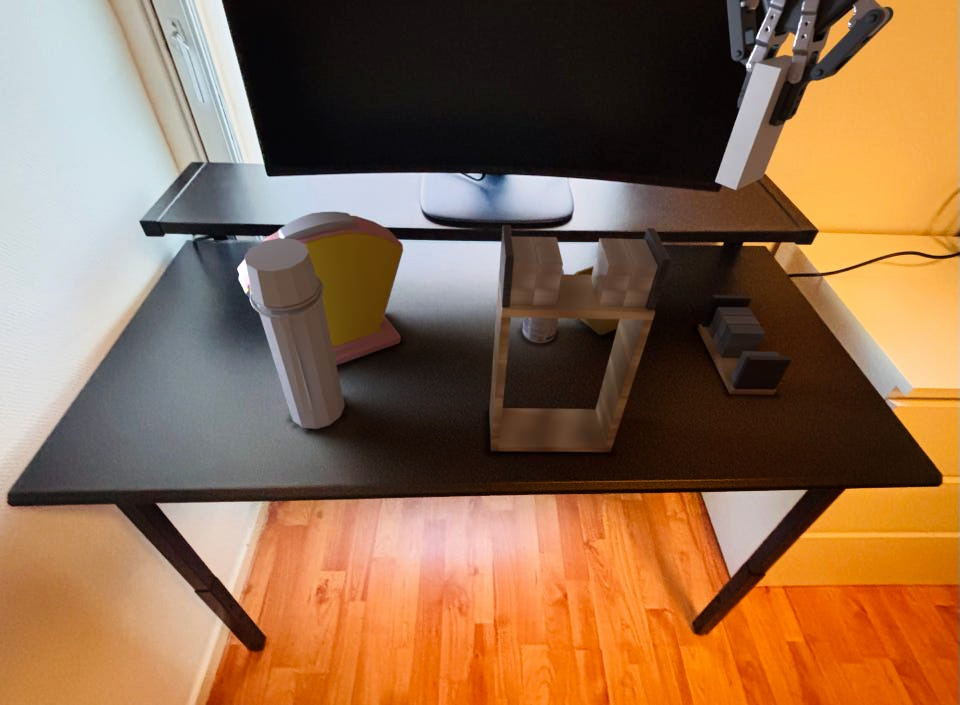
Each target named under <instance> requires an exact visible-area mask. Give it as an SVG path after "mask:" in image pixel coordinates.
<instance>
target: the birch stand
mask: <svg viewBox="0 0 960 705" xmlns="http://www.w3.org/2000/svg"><path fill="white" fill-rule="evenodd" d="M495 310H496V312H495V325H494V340H493V353H492V354H493V355H492V356H493V357H492V370H491V385H490V399H489V436H490V437H489V438H490V439H489V440H490V452H549V453H550V452H551V453H553V452H556V453H559V452H560V453H561V452H562V453H563V452H564V453H565V452H566V453H567V452H568V453H569V452H570V453H611V452H612V448H613V445H614V443H615V439H616V436H617V433H618V430H619V427H620V423H621V420H622V418H623V415H624V411H625V408H626V405H627V402H628V398H629V395H630V393H631V389H632V387H633V383H634V381H635V380H634V379H635V377H636V374H637V370H638V367H639V364H640V361H641V359H642V356H643V353H644V349H645V346H646V342H647V339H648V336H649V334H650V331H651V327H652V324H653V320H654V319H653V320H634V319H620V320H619V324H618V328H617V329H616V332H615V336H614V340H613V343H612V347H611V351H610V354H609V358H608V362H607V365H606V369H605V373H604V377H603V380H602V384H601V388H600V392H599V396H598V399H597V403H596V405H595V406H596V407H595V408H530V407H529V408H527V407H526V408H524V407H523V408H522V407H521V408H519V407H517V408H515V407H513V408H512V407H511V408H510V407H504V398H505V387H506V377H507V376H506V375H507V367H508V366H507V364H508V352H509V342H510V332H511V321H512V317H501V308H500V294H499V280H498V281H497V296H496V309H495Z"/></svg>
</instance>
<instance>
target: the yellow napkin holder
mask: <svg viewBox="0 0 960 705" xmlns="http://www.w3.org/2000/svg"><path fill="white" fill-rule="evenodd" d="M278 238H284V239H295V240H297V241H299V242H302V243H304V244H306V247H307V249H308V252H309V255H310V258H311V261H312V264H313V267H314V270H315V273H316V276H317V277H319V278H320V280H321V282H322V283H323V285H324V292H323V296H322V298H323V303H324V308H325V313H326V318H327V323H328V328H329V332H330V337H331V342H332V347H333V352H334V357H335V362H336V366H338V365H341V364H344V363H347V362H349V361H352V360H355V359H359V358H361V357H364V356H367V355H370V354H372V353H374V352H378V351H380V350H383V349H386V348H389V347H392V346H395V345H397V344H400V342H401V335H400V334H399V332H398V331H397V330H396V329H395V327H394V326H393V324H392V323H391V322H390V321H389V320H388V318H387V317H386V311H387V309H388V305H389V302H390V298H391V294H392V290H393V287H394V284H395V280H396V276H397V273H398V269H399V267H400V263H401V259H402V256H403V253H404V245H403V243H402V242H401V241H400V240H399V239H398V238H397V237H396V236H395V235H394V233H393V232H392V231H390V229H388V228H387V227H385V226H384V225H381V224H379V223H378V222H375V221H373V220H371V219H367V218H364V217H361V216H358V215H351V214H350V213H348V212H343V211H319V212H312V213H309V214H306V215H303V216H301V217H298V218H296V219H294V220H292V221H289V222H288V223H286V224H285V225H283V226H282V227H280V228H279V229H278V230H277V231H275V232H274V233H272V234H270V235H269V236H267V237H266V238H264V239H263V241H267V240H273V239H278ZM263 241H261V242H263ZM237 271H238V274H239V275H238V281H239V283H240V285H241V287H242V289H243V291H244V293H245V295H246V296H247V297H248V298H249V299H250V292H251V289H250V284H249V279H248V274H247V268H246V263H245V258H244V259H243V260H242V262H241V263H240V264H239V265H238V266H237ZM320 291H321V290H320ZM253 301H254V303H255V300H253ZM255 305H256V306H257V304H256V303H255Z"/></svg>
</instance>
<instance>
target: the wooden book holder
mask: <svg viewBox="0 0 960 705" xmlns="http://www.w3.org/2000/svg"><path fill="white" fill-rule="evenodd" d="M499 256H500V258H499V272H498V281H499V294H500V308H501V317H511V318H517V319H519V318H520V319H521V318H523V319H524V318H558V319H574V320H575V319H577V320H579V319H580V320H581V319H634V320H654V318H655V315H656V311H655V310H656V308H657V304H658V302H659V298H660V295H661V292H662V289H663V285H664V282H665V279H666V277H667V273H668V271H669V267H670V264H671V258H670V256H669V253H668V252H667V250H666V248H665V246H664V244H663V242H662V240H661V239H660V237H659V234H658V232H657V231H656V229H655V228H654V227H653V228H652V227H650V228H649V227H647V228H646V231H645V234H644V238H607V237H606V238H605V237H602V238H601V237H599V238H598V244H597V249H596V254H595V259H594V263H593V266H594V267H593V272H592V275H576V274H575V273H574V274H572V273H571V274H567V273H564V274H561V273H562V269H563V267H564V263H563V262H564V261H563V258H562V254H561V250H560V245H559V241H558V238H557V236H515V235H514V236H512V228H511V225H510V224H502V228H501V244H500V255H499Z"/></svg>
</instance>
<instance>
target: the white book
mask: <svg viewBox="0 0 960 705" xmlns="http://www.w3.org/2000/svg"><path fill="white" fill-rule="evenodd" d="M792 58H793V55H788V54H782V55H779V56H776V57H775V58H771V59H767V60H763V61H759V62H756V64H755V67H754V69H753V72H752V75H751V78H750V81H749V84H748V87H747V90H746V93H745V96H744V99H743V102H742V104H741V107H740V108H739V111H738V114H737V117H736V120H735V122H734V125H733V128H732V131H731V134H730V136H729V140H728V142H727V145H726V148H725V152H724V154H723V157H722V160H721V163H720V166H719V169H718V172H717V175H716V177H715V180H714V182H715V183H717V184H718V185H722V186H724V187H727V188H728V189H729V188H730V189H732V190H734V191H737V190H740V189H742V188H745V187H746V186H748V185H750V184H752V183H754V182H757V181H759V180H761V179H763V178H764V175H765V174H766V171H767V169H768V166H769V164H770V161H771V158H772V156H773V154H774V151H775V149H776V146H777V145H778V141H779V138H780V137H781V133H782V131H783V130H784V129H783V128H784V127H785V124H786V122H785V123H784V124H782V125H779V126H777V127H776V126H772V125H769V120H770V118H771V115H772V112H773V110H774V107H775V104H776V102H777V99H778V97H779V94H780V91H781V89H782V86H783V84H784V82H787V81H788V73H789V69H790V65H791V62H792Z"/></svg>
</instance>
